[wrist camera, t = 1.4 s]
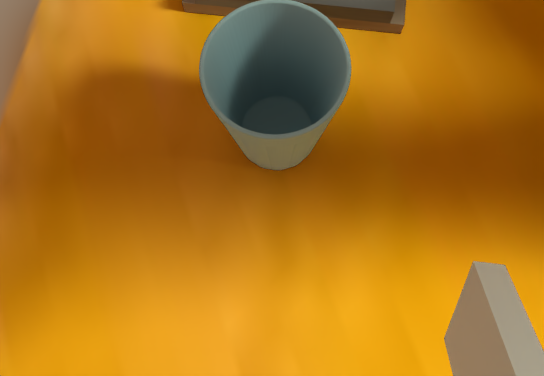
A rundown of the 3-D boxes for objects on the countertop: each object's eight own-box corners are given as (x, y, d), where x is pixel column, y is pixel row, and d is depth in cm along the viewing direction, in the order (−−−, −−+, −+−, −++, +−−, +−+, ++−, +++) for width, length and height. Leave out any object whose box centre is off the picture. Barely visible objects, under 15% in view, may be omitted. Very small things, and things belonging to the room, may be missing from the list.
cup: (300, 206, 35) (308, 165, 25) (202, 156, 36) (170, 96, 25) (349, 112, 36) (376, 37, 26) (254, 66, 37) (243, -24, 27)
